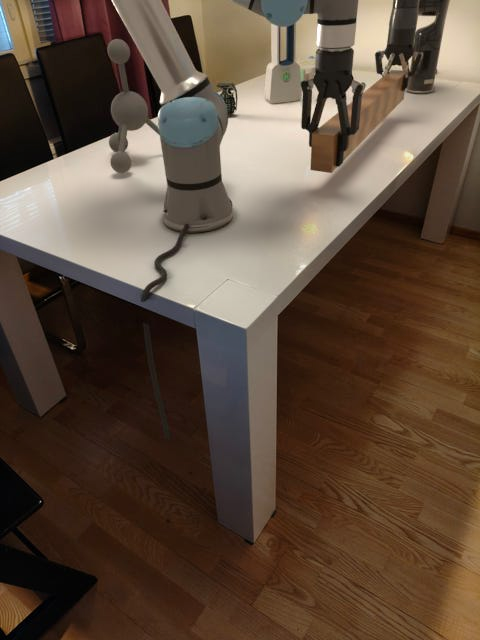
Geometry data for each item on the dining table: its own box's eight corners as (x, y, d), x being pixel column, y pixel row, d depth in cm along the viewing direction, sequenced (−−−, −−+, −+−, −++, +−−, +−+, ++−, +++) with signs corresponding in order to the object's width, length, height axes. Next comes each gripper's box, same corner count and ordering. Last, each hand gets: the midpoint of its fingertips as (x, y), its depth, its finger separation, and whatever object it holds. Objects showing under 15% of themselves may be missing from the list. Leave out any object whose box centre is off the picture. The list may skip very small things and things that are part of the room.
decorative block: (301, 54, 217) (342, 57, 208) (301, 70, 221) (341, 73, 212) (270, 65, 201) (313, 69, 192) (270, 82, 205) (312, 86, 196)
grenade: (217, 117, 168) (214, 86, 162) (221, 112, 172) (219, 82, 166) (235, 117, 166) (233, 86, 160) (239, 113, 171) (238, 82, 165)
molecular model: (195, 164, 133) (181, 39, 115) (114, 179, 127) (87, 50, 109) (172, 140, 150) (157, 28, 132) (101, 152, 145) (75, 37, 126)
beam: (331, 173, 108) (334, 135, 103) (310, 170, 110) (311, 133, 105) (403, 99, 153) (408, 70, 148) (387, 98, 155) (391, 69, 150)
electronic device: (270, 104, 178) (269, 7, 160) (263, 99, 184) (262, 5, 165) (301, 100, 180) (304, 4, 162) (294, 95, 186) (296, 2, 168)
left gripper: (385, 46, 96) (371, 162, 110) (300, 43, 103) (297, 152, 117) (374, 53, 91) (360, 174, 105) (285, 49, 98) (284, 163, 112)
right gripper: (431, 24, 138) (420, 88, 149) (381, 23, 144) (374, 85, 154) (426, 28, 133) (415, 94, 144) (374, 27, 139) (367, 91, 149)
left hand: (327, 162), depth 111 cm, fingers closed on beam, 5 cm apart
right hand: (394, 89), depth 149 cm, fingers closed on beam, 5 cm apart
